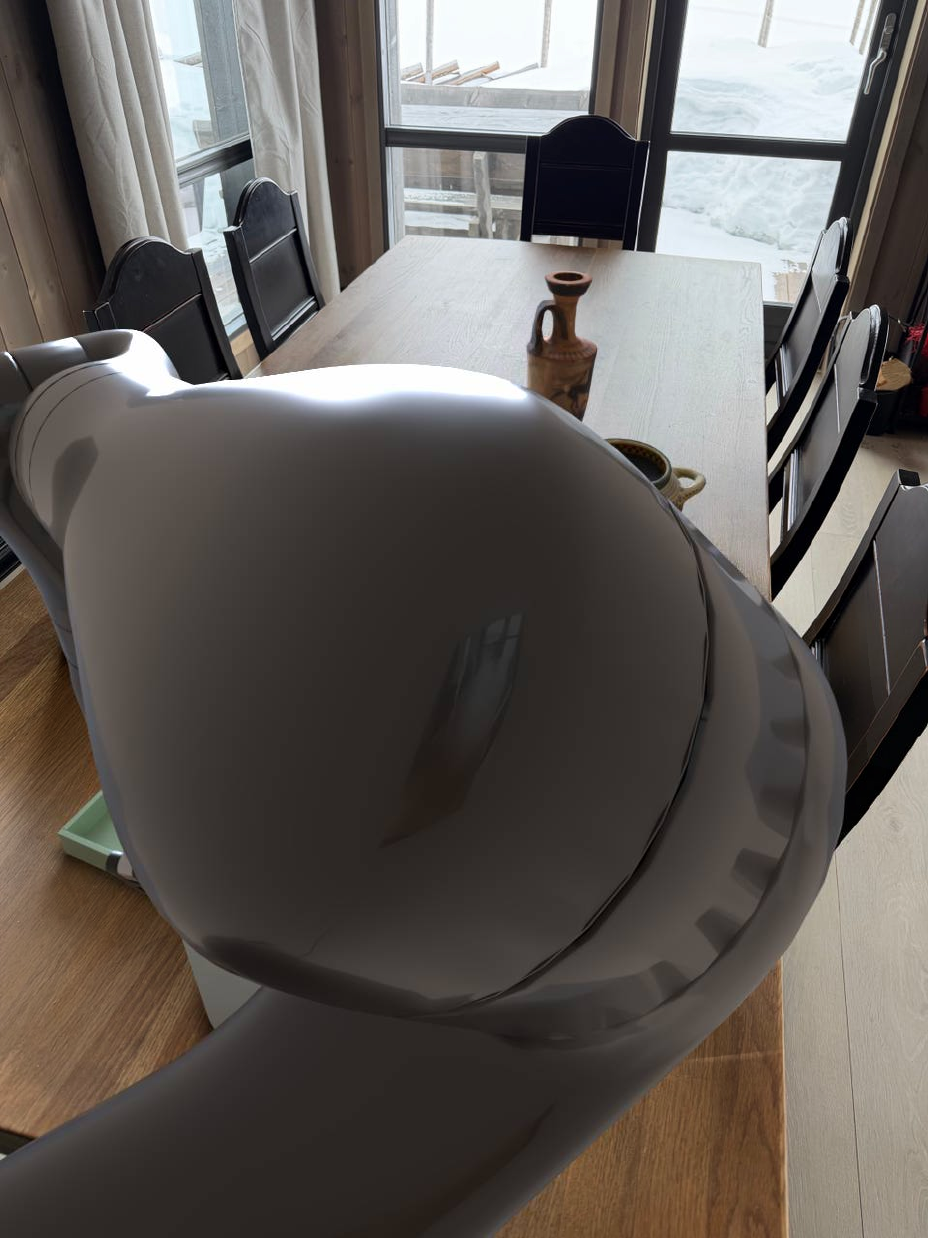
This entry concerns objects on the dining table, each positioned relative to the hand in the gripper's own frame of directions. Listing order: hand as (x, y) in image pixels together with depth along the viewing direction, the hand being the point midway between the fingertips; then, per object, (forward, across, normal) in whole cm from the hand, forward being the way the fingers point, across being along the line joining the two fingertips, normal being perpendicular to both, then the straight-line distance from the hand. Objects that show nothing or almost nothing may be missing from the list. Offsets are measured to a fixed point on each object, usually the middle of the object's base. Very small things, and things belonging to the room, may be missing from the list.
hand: (210, 874), depth 59 cm
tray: (+18, -19, -13) cm, 29 cm away
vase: (+20, -99, +9) cm, 101 cm away
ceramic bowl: (+19, -77, +21) cm, 82 cm away
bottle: (+18, 0, 0) cm, 18 cm away
